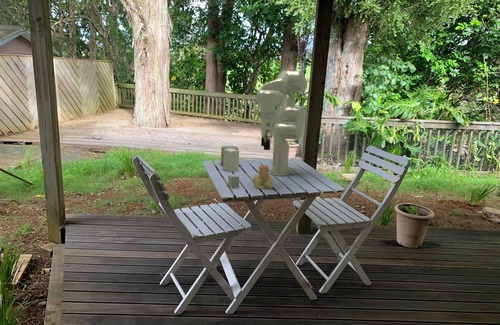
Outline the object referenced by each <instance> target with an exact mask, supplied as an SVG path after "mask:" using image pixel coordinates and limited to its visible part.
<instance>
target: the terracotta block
mask: <svg viewBox="0 0 500 325" xmlns="http://www.w3.org/2000/svg"><path fill="white" fill-rule="evenodd" d="M269 171H270V168H269V166H268V165H265V164H263V165H261V164H259V165H258V175H259V178H268V175H269Z"/></svg>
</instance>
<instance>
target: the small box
mask: <svg viewBox="0 0 500 325" xmlns="http://www.w3.org/2000/svg"><path fill="white" fill-rule="evenodd" d="M239 158H240V150H239V149H238V150H235V149H224V158H223V166H222V170H223V171H227V172H229V173H233V172H238V171H239V163H240V162H239V161H240V159H239Z"/></svg>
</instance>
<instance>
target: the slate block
mask: <svg viewBox="0 0 500 325" xmlns="http://www.w3.org/2000/svg"><path fill="white" fill-rule="evenodd" d="M227 186H228V187H229V188H230V187H238V188H240V176H239V175H238V174H228V179H227Z"/></svg>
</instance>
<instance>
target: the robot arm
mask: <svg viewBox="0 0 500 325" xmlns="http://www.w3.org/2000/svg"><path fill="white" fill-rule="evenodd" d="M307 89H308V81H307V79H306V76H305V74H303V73H302V71H300V70H282V71H281V72H280V73H279V74H278V75H277V77H276V78H275V80H272V81H269V82H267V83H265V84H263V85H262V86H260V88H259V89H258V91H257V93H256V95H255V96H256V97H255V99H256V101H257V103H258V104H259V106H260V107H259V119H260V120H261V124H260V125H261V126H260V135H261V139H260V140H261V141H260V146H261V147H263V150H264V151H270V150H271V139H272V138H273V147H272V148H273V149H272V150H273V151H272V165H271V167H272V168H271V169H269V172H268V174H270V175H273V176H279V177H280V176H281V177H283V176H285V177H286V176H288V175H290V174H291V172H295V171H296V167H289V156H290V155H289V154H290V145H289V142H288V141H287V140H296V141H298V140H300V139H301V137H302V134H303V129H304V125H305V119H306V112H305V109H304V108H303V107H298V106H296V98H295V96H294V95H293V93H295V92H296V93H304V92H306V90H307ZM292 92H293V93H292ZM276 106H280V107H279V112H278V119H279V120H280V121H281V122H276V123H273V120H274V119H275V111H276V110H275V109H276V108H275V107H276ZM273 124H274V125H273Z"/></svg>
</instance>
